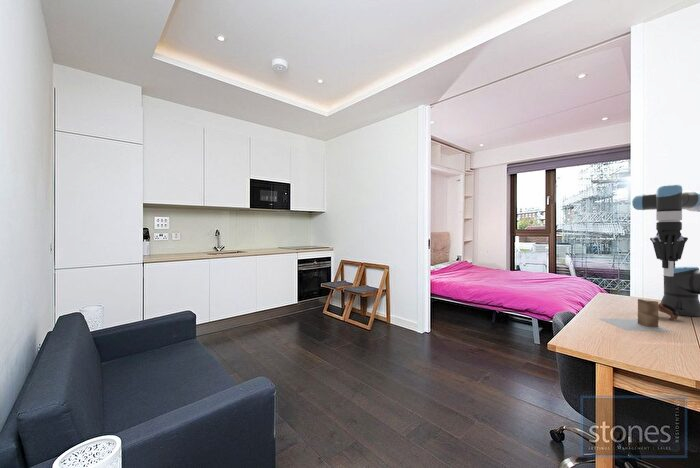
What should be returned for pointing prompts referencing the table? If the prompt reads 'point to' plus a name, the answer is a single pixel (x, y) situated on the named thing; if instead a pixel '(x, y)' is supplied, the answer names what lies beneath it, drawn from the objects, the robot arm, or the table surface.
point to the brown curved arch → (665, 308)
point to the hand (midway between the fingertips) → (668, 275)
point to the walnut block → (648, 312)
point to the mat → (632, 325)
